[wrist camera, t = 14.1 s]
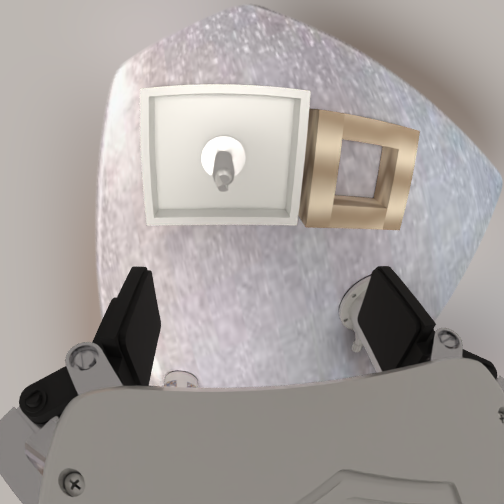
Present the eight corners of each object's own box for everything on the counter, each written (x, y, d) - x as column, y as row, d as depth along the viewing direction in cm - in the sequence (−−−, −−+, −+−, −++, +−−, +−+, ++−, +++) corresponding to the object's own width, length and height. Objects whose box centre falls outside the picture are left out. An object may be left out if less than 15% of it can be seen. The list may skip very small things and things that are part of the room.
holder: (385, 218, 38) (399, 230, 35) (297, 214, 37) (305, 227, 33) (402, 126, 31) (419, 131, 28) (308, 108, 30) (319, 109, 26)
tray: (290, 214, 36) (296, 225, 33) (152, 214, 34) (146, 225, 31) (301, 92, 29) (310, 91, 26) (148, 90, 27) (140, 88, 24)
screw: (217, 181, 33) (194, 148, 30) (252, 160, 32) (230, 126, 29) (214, 227, 21) (177, 176, 19) (269, 194, 20) (234, 139, 18)
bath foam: (163, 384, 53) (156, 468, 36) (166, 367, 50) (157, 459, 33) (195, 390, 55) (194, 473, 37) (200, 373, 52) (199, 464, 34)
